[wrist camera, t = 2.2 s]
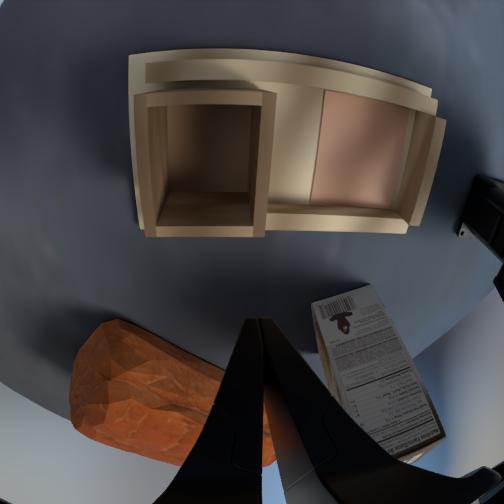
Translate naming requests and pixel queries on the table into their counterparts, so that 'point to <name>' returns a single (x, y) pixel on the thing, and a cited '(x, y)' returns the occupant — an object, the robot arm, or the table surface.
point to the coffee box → (375, 374)
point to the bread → (144, 394)
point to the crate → (204, 160)
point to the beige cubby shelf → (320, 134)
